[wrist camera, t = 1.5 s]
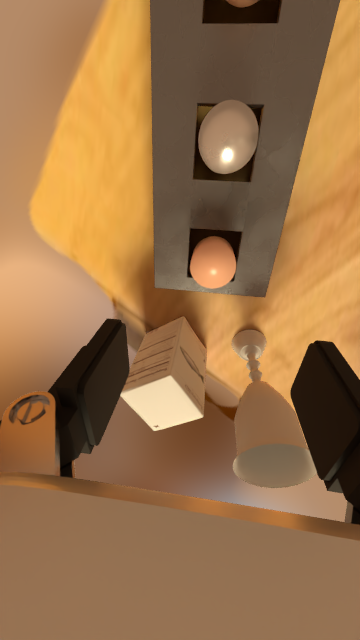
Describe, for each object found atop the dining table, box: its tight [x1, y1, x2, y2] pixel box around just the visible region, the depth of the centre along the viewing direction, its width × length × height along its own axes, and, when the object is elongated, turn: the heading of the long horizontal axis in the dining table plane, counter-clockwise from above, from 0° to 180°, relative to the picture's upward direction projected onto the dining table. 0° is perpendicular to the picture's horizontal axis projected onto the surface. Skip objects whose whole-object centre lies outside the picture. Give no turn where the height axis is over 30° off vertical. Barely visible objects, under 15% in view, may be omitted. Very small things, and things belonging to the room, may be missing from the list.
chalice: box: [232, 330, 317, 488], centre depth 28 cm, size 7×7×18 cm
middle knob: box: [198, 100, 258, 174], centre depth 17 cm, size 4×4×3 cm
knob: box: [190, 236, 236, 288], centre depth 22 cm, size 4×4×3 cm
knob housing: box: [150, 0, 340, 297], centre depth 22 cm, size 12×26×6 cm, turn 178°
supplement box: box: [120, 316, 207, 431], centre depth 32 cm, size 7×7×13 cm
